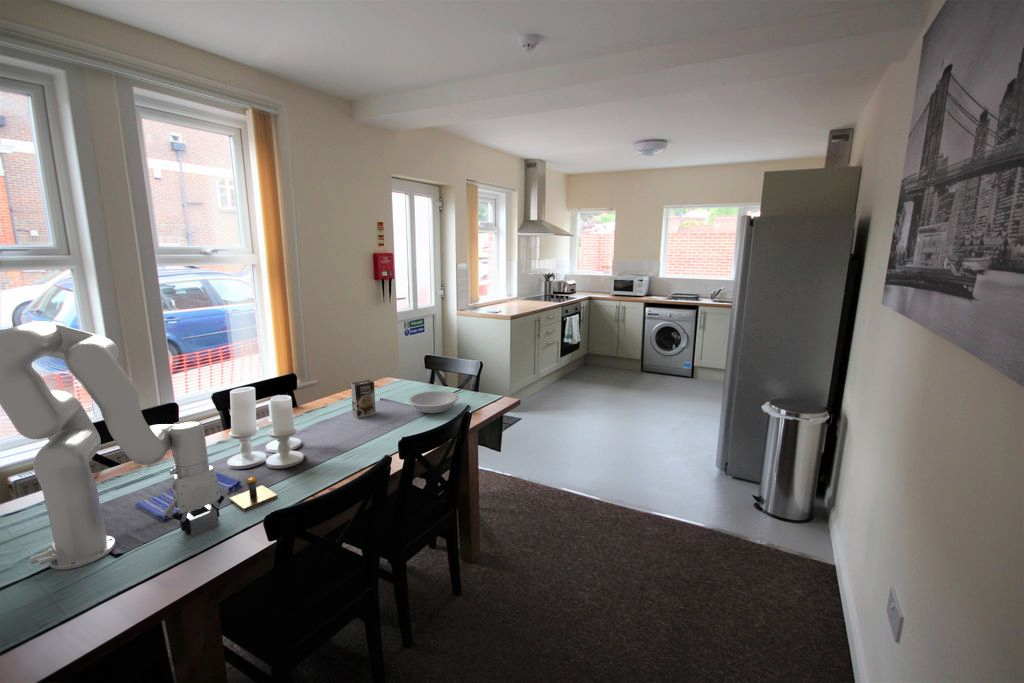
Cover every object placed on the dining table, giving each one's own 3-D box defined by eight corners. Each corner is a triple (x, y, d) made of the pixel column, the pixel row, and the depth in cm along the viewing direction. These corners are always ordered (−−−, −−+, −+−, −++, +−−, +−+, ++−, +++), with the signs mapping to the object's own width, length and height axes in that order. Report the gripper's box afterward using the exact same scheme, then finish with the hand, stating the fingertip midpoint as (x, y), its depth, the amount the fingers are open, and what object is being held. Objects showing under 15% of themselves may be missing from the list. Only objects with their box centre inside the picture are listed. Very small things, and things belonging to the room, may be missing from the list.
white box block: (193, 537, 127) (190, 520, 126) (184, 528, 131) (181, 512, 130) (218, 526, 132) (216, 510, 131) (209, 518, 136) (207, 502, 135)
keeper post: (244, 511, 139) (241, 490, 138) (229, 500, 145) (227, 480, 144) (277, 497, 147) (275, 477, 146) (262, 488, 153) (260, 468, 152)
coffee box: (357, 419, 215) (355, 385, 212) (352, 415, 220) (350, 382, 217) (376, 414, 221) (374, 382, 218) (371, 411, 226) (369, 379, 223)
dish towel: (244, 488, 154) (243, 480, 154) (163, 523, 134) (161, 514, 134) (215, 475, 163) (214, 468, 162) (135, 507, 143) (133, 499, 142)
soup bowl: (399, 410, 227) (398, 397, 226) (441, 399, 243) (440, 387, 241) (426, 423, 209) (425, 409, 208) (468, 411, 225) (468, 398, 224)
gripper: (159, 483, 119) (169, 546, 122) (232, 459, 132) (239, 516, 136) (149, 475, 123) (160, 535, 127) (221, 452, 137) (228, 508, 140)
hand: (201, 525), depth 131 cm, fingers closed on white box block, 6 cm apart
